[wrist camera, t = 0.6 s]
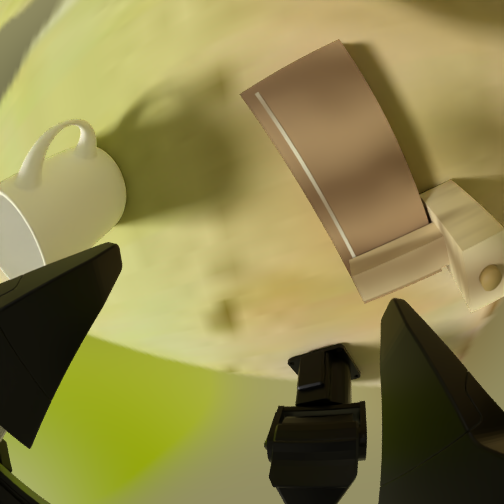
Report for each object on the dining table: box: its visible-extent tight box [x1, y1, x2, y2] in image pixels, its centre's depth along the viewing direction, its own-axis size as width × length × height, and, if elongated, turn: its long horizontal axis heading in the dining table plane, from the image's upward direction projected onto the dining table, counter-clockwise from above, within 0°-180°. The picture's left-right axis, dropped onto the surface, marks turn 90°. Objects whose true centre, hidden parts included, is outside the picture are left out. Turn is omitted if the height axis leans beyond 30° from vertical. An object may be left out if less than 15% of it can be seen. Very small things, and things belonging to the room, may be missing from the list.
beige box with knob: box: [349, 180, 504, 313], centre depth 17 cm, size 5×10×8 cm, turn 124°
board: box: [240, 39, 442, 304], centre depth 18 cm, size 18×7×2 cm, turn 34°
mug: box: [0, 119, 126, 279], centre depth 18 cm, size 9×12×11 cm
